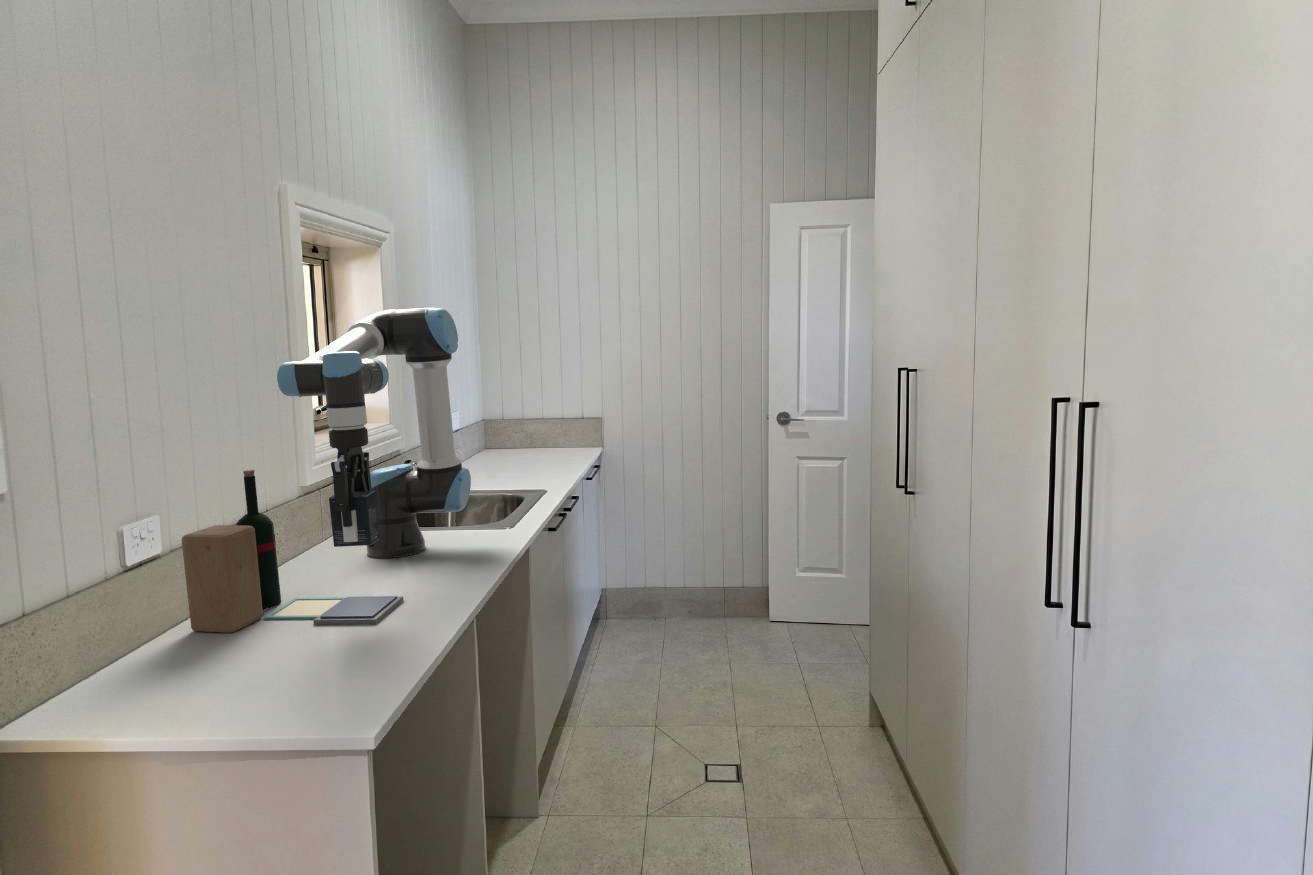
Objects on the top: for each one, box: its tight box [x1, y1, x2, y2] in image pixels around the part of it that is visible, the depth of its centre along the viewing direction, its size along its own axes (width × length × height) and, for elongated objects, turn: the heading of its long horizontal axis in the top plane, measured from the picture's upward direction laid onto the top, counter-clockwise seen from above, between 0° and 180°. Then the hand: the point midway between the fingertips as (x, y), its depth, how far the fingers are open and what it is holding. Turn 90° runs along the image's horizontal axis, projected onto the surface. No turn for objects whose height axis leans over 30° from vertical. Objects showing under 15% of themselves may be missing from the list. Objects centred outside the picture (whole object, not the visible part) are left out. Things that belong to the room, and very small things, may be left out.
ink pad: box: [313, 595, 404, 626], centre depth 180 cm, size 15×13×1 cm
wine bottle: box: [235, 469, 282, 611], centre depth 187 cm, size 8×10×30 cm
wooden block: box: [181, 524, 264, 634], centre depth 174 cm, size 10×10×20 cm
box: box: [328, 491, 379, 548], centre depth 177 cm, size 8×6×11 cm
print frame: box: [263, 596, 345, 621], centre depth 183 cm, size 13×14×1 cm
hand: (357, 537), depth 178 cm, fingers closed on box, 6 cm apart
